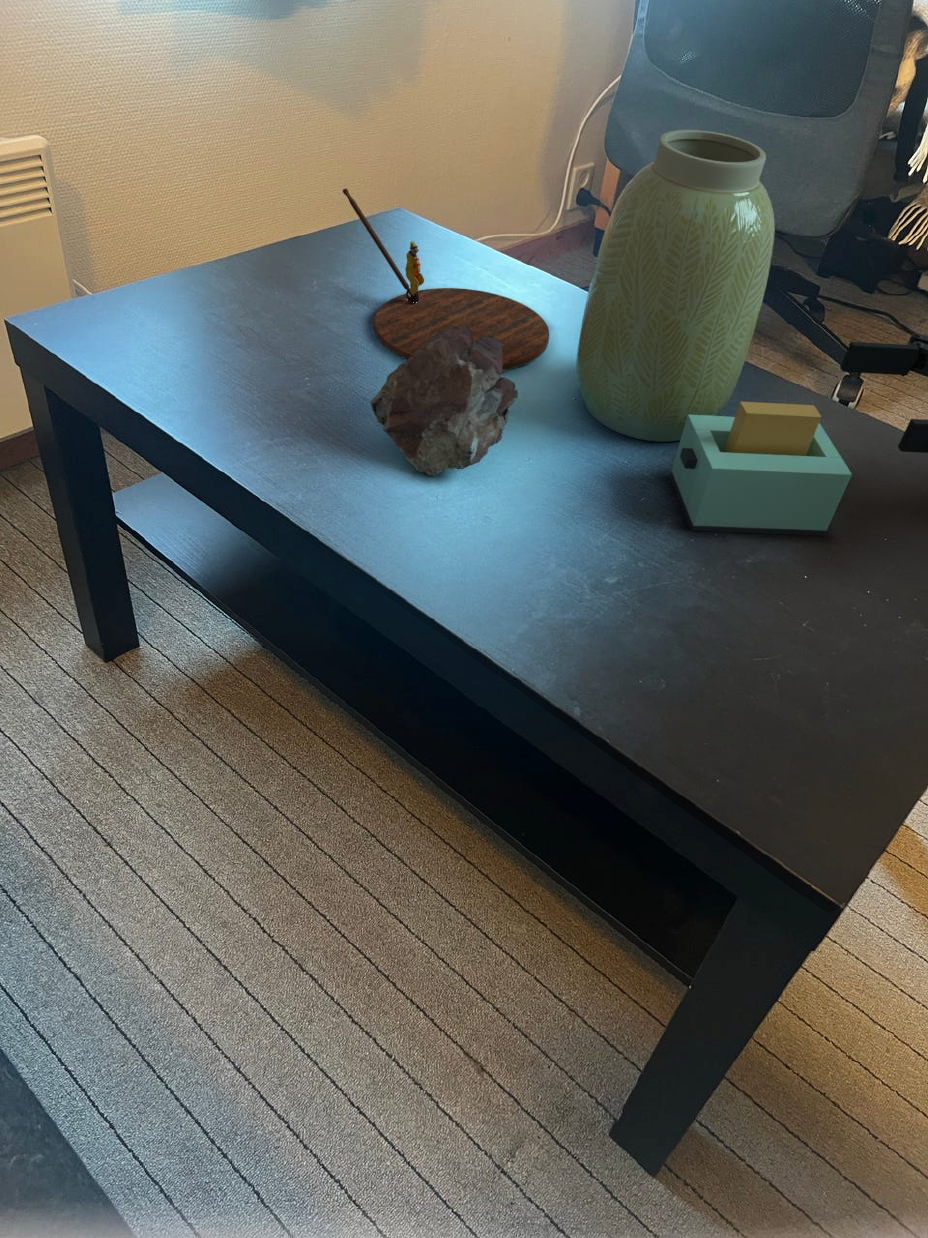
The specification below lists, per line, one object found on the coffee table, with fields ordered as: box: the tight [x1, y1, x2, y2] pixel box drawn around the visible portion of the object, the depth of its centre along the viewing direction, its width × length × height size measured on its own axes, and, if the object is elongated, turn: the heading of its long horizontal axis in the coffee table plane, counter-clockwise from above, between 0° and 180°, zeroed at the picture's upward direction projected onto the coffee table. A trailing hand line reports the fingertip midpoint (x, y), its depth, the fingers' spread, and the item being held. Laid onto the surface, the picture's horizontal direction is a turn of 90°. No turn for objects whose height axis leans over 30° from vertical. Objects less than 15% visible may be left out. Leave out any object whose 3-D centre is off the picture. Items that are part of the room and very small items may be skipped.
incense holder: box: [342, 188, 550, 371], centre depth 110 cm, size 21×30×11 cm
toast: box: [723, 401, 822, 456], centre depth 86 cm, size 7×2×10 cm, turn 94°
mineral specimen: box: [369, 325, 519, 477], centre depth 90 cm, size 12×13×15 cm
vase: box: [575, 129, 776, 443], centre depth 93 cm, size 17×17×27 cm
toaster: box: [669, 414, 853, 537], centre depth 88 cm, size 14×9×7 cm, turn 93°
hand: (874, 393), depth 82 cm, fingers open, 13 cm apart
